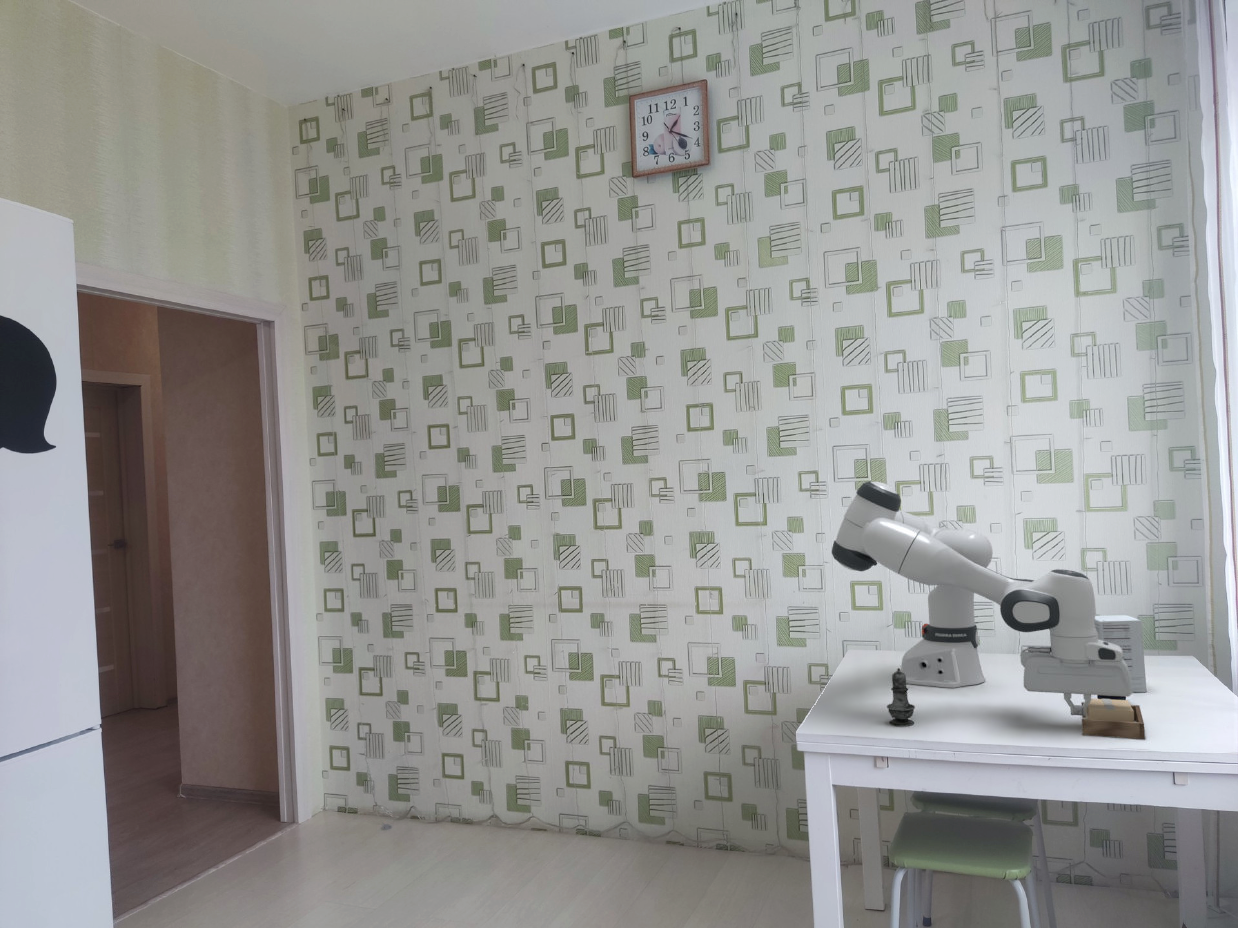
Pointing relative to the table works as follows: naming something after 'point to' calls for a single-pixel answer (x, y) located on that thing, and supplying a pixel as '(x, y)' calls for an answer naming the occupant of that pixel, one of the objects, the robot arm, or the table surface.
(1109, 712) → the carton
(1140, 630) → the supplement box
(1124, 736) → the brown u-shaped stall
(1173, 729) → the table surface
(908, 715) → the salt shaker
